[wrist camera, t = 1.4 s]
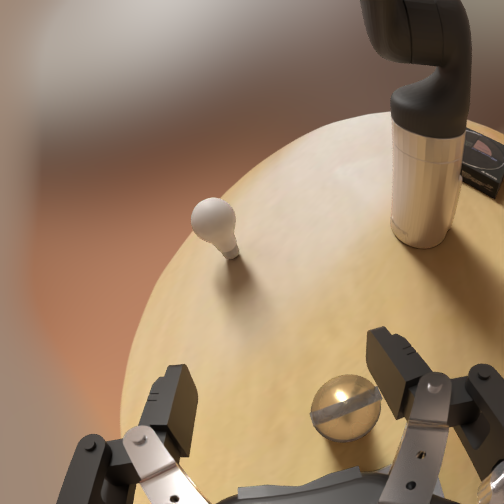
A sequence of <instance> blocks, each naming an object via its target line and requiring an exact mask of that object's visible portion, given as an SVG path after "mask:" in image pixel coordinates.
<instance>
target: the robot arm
mask: <svg viewBox="0 0 504 504" xmlns="http://www.w3.org/2000/svg"><path fill="white" fill-rule="evenodd" d="M360 3H361V8H362V13H363V19H364V23H365V27H366V31H367V34H368V37H369V39H370V42H371V44H372V46H373V48H374V49H375V50H376V52H377V53H378V54H379V55H380V56H381V57H382V58H384V59H386V60H389V61H393V62H398V63H409V64H410V63H411V64H421V65H430V66H437V67H436V70H435V72H434V73H433V74H432V75H430V76H429V77H427V78H425V79H423V80H421V81H419V82H416V83H413V84H410V85H407V86H403V87H401V88H399V89H397V90H395V91H394V93H393V94H392V96H391V100H390V101H391V103H390V104H391V117H392V138H393V186H392V208H391V228H392V231H393V232H394V234H395V235H396V236H397V238H398V239H399V240H401V241H402V242H404V243H405V244H407V245H409V246H412V247H415V248H422V249H423V248H431V247H435V246H436V245H438V244H440V243H441V242H442V241H443V239H444V238H445V235H446V232H447V230H449V229H451V226H452V223H453V219H454V215H455V211H456V207H457V203H458V199H459V194H460V190H461V185H462V177H461V175H460V171H461V165H462V158H463V151H464V143H465V134H466V123H467V116H468V112H469V106H470V88H471V64H472V46H471V45H472V44H471V32H470V25H469V20H468V17H467V14H466V11H465V8H464V6H463V4H462V2H461V1H460V0H360ZM366 363H367V367H368V369H369V371H370V373H371V375H372V377H373V378H374V380H375V382H376V384H377V386H378V387H379V389H380V391H381V393H382V395H383V396H384V398H385V400H386V402H387V404H388V406H389V407H390V409H391V411H392V413H393V415H394V417H395V419H396V420H398V419H400V418H403V417H405V418H406V420H407V423H406V426H405V429H404V432H403V435H402V438H401V441H400V444H399V447H398V450H397V453H396V455H395V458H394V461H393V463H392V465H391V468H390V470H389V473H388V475H387V474H384V473H379V472H360V469H359V466H356V467H353V468H349V469H346V470H342V471H338V472H334V473H330V474H328V475H326V476H323V477H321V478H319V479H317V480H314V481H312V482H310V483H307V484H305V485H302V486H277V485H261V486H250V487H238V494H237V495H233V496H230V497H228V498H226V499H223V500H221V501H220V502H218V503H216V504H460V503H457V502H454V501H451V500H448V499H446V498H443V497H440V496H437V495H435V494H433V492H434V489H435V485H436V482H437V479H438V475H439V472H440V468H441V464H442V460H443V456H444V452H445V447H446V442H447V437H448V432H449V427H453V428H454V429H455V431H456V433H457V435H458V437H459V438H460V440H461V442H462V444H463V446H464V448H465V450H466V451H467V453H468V455H469V457H470V459H471V461H472V463H473V465H474V467H475V469H476V471H477V473H478V475H479V477H480V479H481V482H482V483H481V484H480V486H479V488H478V493H477V494H478V502H479V504H504V379H503V378H502V377H501V375H500V374H499V373H498V372H497V371H496V370H495V369H494V368H493V367H492V366H490V365H488V364H477V365H475V366H473V367H472V368H471V369H470V371H469V373H468V376H465V377H459V378H454V379H450V378H449V377H448V376H447V375H445V374H443V373H440V372H433V371H432V370H431V369H430V368H429V366H428V365H427V364H426V363H425V361H424V360H423V359H422V358H421V356H420V355H419V354H418V353H416V350H415V349H414V348H413V347H411V344H410V343H409V342H408V341H407V340H406V339H405V338H404V337H402V336H400V335H398V334H394V335H391V334H390V332H389V331H388V330H387V329H386V327H384V326H382V327H379V328H376V329H372V330H369V331H368V332H367V346H366ZM197 403H198V393H197V389H196V386H195V384H194V382H193V379H192V377H191V375H190V372H189V370H188V368H187V366H186V365H185V364H180V365H169V366H168V367H167V370H166V373H165V376H164V377H159V378H158V379H157V380H156V381H155V383H154V384H153V385H152V388H151V390H150V395H149V396H148V399H147V402H146V404H145V407H144V410H143V413H142V416H141V419H140V422H139V425H138V426H136V427H133V428H131V429H130V430H128V431H127V432H126V434H125V435H124V437H123V438H122V439H118V440H112V441H105V440H104V439H103V438H102V437H101V436H100V435H97V434H90V435H87V436H85V437H83V438H82V439H81V440H80V442H79V443H78V445H77V447H76V450H75V452H74V455H73V458H72V460H71V463H70V466H69V468H68V471H67V474H66V476H65V479H64V482H63V485H62V488H61V491H60V494H59V497H58V500H57V503H56V504H133V500H134V494H135V489H136V483H140V485H141V487H142V489H143V490H144V492H145V494H146V495H147V497H148V499H149V500H150V502H151V504H212V503H211V502H210V501H209V500H208V499H207V498H206V497H205V496H204V495H203V494H202V492H201V491H200V490H199V489H198V488H197V486H196V485H195V484H194V483H193V482H192V480H191V479H190V478H189V476H188V475H187V474H186V473H185V471H184V470H183V469H182V467H181V466H180V465H179V460H180V457H189V454H190V448H191V441H192V435H193V428H194V422H195V416H196V410H197Z"/></svg>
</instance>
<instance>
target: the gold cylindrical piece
mask: <svg viewBox="0 0 504 504" xmlns="http://www.w3.org/2000/svg"><path fill="white" fill-rule="evenodd" d="M381 400H382V396H381V394H380V391H379V389H378V387H377V386H376V387H375V386H374V385H373V384H372V383H371V382H370V381H369V380H367V379H365V378H363V377H361V376H357V375H341V376H338V377H335V378H333V379H331V380H329V381H328V382H326V383H325V384H324V385H323V386H322V387H321V388H320V389H319V390H318V392H317V393H316V395H315V397H314V400H313V403H312V407H311V413H310V416H311V420H312V423H313V426H314V427H315V428H316V430H317V431H318V432H319V433H320V434H321V435H322V436H323V437H325V438H326V439H328V440H331V441H334V442H351V441H354V440H357V439H359V438H361V437H363V436H365V435H366V434H367V433H368V432H370V430H371V429H372V428H373V427H374V426H375V424H376V422H377V421H378V418H379V415H380V411H381V402H380V401H381Z"/></svg>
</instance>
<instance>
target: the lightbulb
mask: <svg viewBox="0 0 504 504" xmlns="http://www.w3.org/2000/svg"><path fill="white" fill-rule="evenodd" d="M235 222H236V217H235V212H234V210H233V208H232V207H231V206H230V204H228V203H227V202H226V201H224V200H222V199H219V198H208V199H205V200H203V201H201V202H200V203H199V204H198V205H197V206H196V207H195V208H194V210H193V213H192V216H191V225H192V228H193V231H194V232H195V234H196V235H197V236H198V237H199V238H201V239H202V240H204V241H206V242H209V243H212V244H213V245H214V246H215V247H216V248H217V249H218V250H219V251H220V252H221V253H222V254H223V256H224V257H225V258H226V259H233V258H235V257H236V256H237V255H238V254H239V248H238V246H237V244H236V238H235V235H234V229H235Z"/></svg>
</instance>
